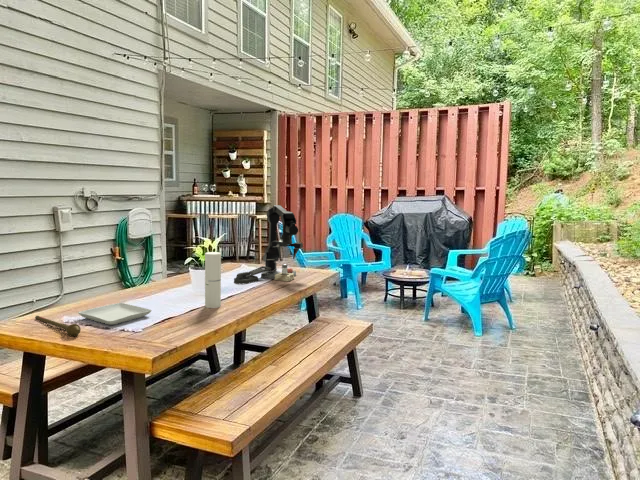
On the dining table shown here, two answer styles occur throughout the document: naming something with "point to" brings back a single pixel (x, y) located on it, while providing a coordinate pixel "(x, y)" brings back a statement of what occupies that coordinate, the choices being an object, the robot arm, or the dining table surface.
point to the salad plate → (115, 313)
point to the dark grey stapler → (250, 275)
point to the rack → (284, 277)
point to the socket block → (272, 274)
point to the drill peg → (284, 269)
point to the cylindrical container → (212, 279)
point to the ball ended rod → (62, 326)
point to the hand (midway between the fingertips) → (286, 258)
